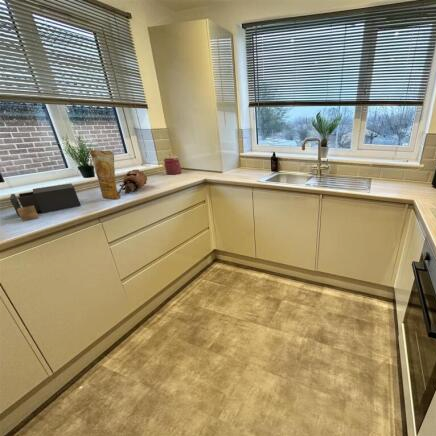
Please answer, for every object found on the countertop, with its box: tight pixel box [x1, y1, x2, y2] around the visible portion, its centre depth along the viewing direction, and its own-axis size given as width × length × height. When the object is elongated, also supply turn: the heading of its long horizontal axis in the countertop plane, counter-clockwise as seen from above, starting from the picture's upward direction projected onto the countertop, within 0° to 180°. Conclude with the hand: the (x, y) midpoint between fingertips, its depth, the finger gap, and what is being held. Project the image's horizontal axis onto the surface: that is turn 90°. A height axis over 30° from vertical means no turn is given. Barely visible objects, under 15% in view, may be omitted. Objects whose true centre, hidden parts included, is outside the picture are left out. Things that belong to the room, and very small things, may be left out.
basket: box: [0, 191, 41, 217], centre depth 123 cm, size 21×13×9 cm, turn 136°
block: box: [17, 205, 40, 222], centre depth 116 cm, size 6×6×6 cm
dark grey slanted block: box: [32, 182, 82, 214], centre depth 131 cm, size 16×14×11 cm
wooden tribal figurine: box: [118, 169, 148, 195], centre depth 162 cm, size 15×15×25 cm
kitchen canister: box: [162, 152, 182, 176], centre depth 211 cm, size 13×13×18 cm
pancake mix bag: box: [89, 149, 121, 200], centre depth 143 cm, size 7×19×28 cm, turn 64°
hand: (0, 182), depth 113 cm, fingers closed
